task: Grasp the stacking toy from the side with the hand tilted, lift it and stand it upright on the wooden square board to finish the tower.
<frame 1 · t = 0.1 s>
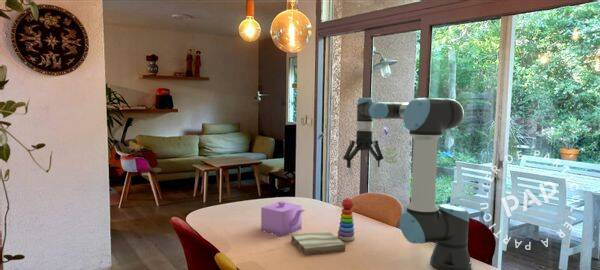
hand: (363, 174, 206), 28 cm above the table, tool pointing down, fingers open, 13 cm apart
stacking toy: (346, 239, 196), on the table
teapot: (283, 230, 207), on the table
wooden square board: (317, 245, 186), on the table
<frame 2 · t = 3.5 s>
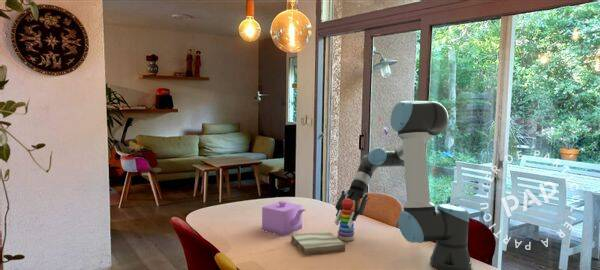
hand: (342, 224, 192), 7 cm above the table, tool tilted 45°, fingers closed on stacking toy, 6 cm apart
stacking toy: (346, 239, 196), on the table, touching gripper
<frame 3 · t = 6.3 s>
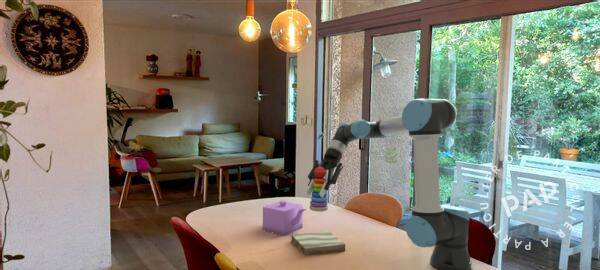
hand: (314, 194, 182), 23 cm above the table, tool tilted 45°, fingers closed on stacking toy, 6 cm apart
stacking toy: (318, 210, 185), point 16 cm above the table, touching gripper
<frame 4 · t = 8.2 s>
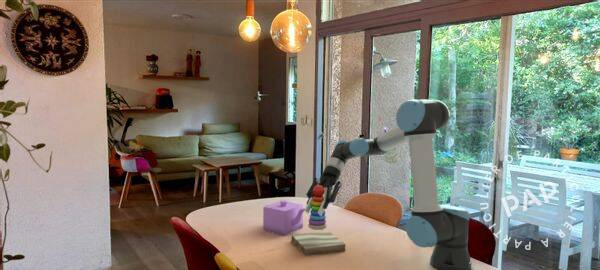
hand: (313, 212, 182), 15 cm above the table, tool tilted 45°, fingers closed on stacking toy, 6 cm apart
stacking toy: (317, 228, 186), point 8 cm above the table, touching gripper
when the fingers open (11 cm above the table, at t = 9.6 s): stacking toy stays where it is, resting on wooden square board.
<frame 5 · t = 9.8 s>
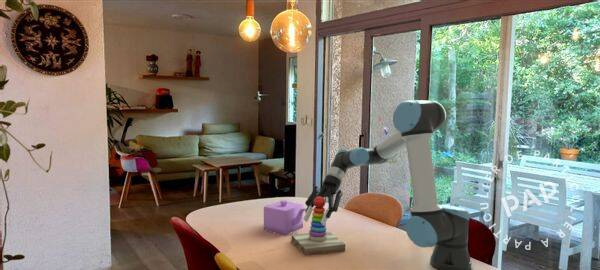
hand: (313, 221, 182), 11 cm above the table, tool tilted 45°, fingers open, 8 cm apart
stacking toy: (317, 239, 186), point 3 cm above the table, touching wooden square board
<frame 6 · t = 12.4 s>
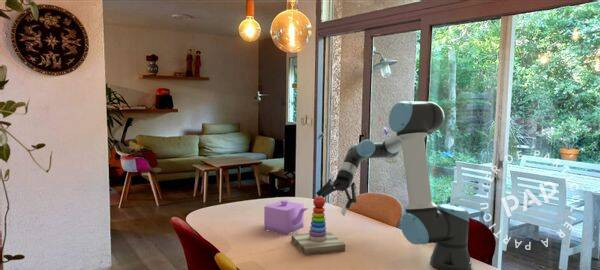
hand: (329, 211, 193), 13 cm above the table, tool tilted 45°, fingers open, 13 cm apart
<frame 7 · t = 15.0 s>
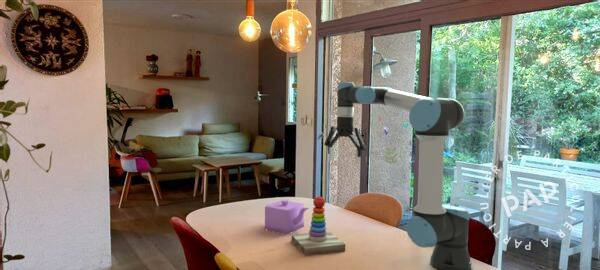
hand: (344, 162, 197), 35 cm above the table, tool pointing down, fingers open, 13 cm apart
at the end: stacking toy 0.1 cm from the wooden square board (horizontally); stacking toy point 2.8 cm above the table; stacking toy tilted 0° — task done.
